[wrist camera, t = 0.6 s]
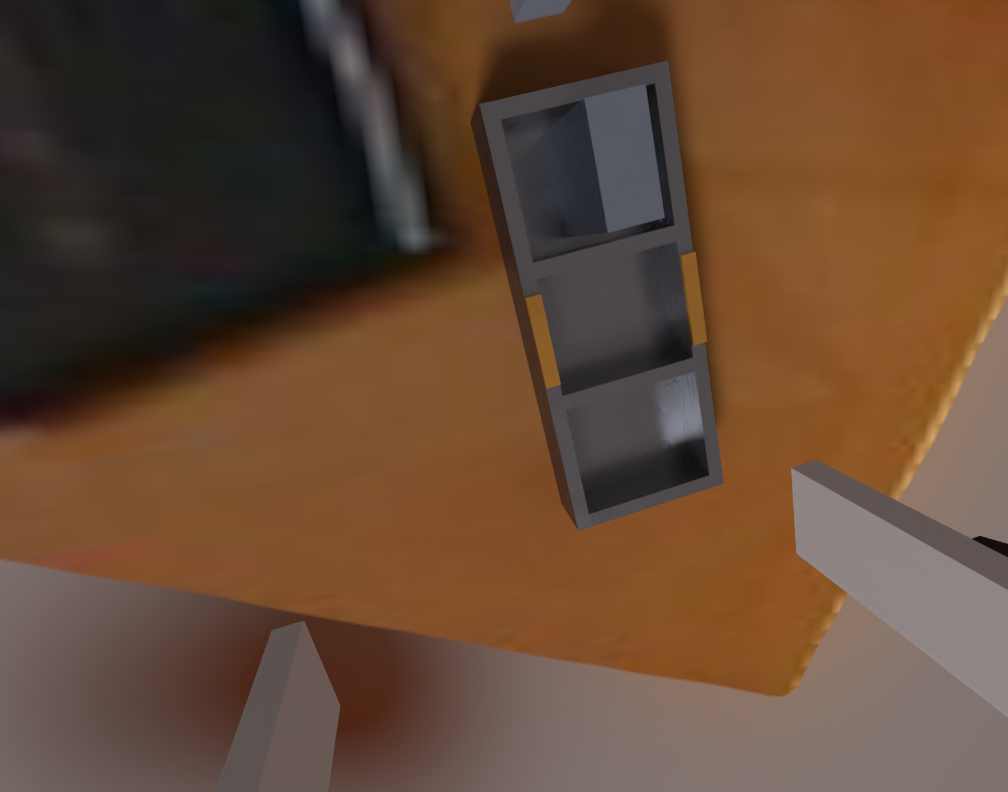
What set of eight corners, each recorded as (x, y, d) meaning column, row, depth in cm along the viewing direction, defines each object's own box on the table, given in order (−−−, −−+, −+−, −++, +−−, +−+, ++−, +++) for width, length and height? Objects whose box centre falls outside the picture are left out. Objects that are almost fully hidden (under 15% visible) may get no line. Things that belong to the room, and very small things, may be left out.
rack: (470, 122, 33) (493, 74, 24) (637, 83, 34) (717, 23, 25) (561, 503, 41) (603, 570, 32) (693, 461, 42) (768, 515, 34)
